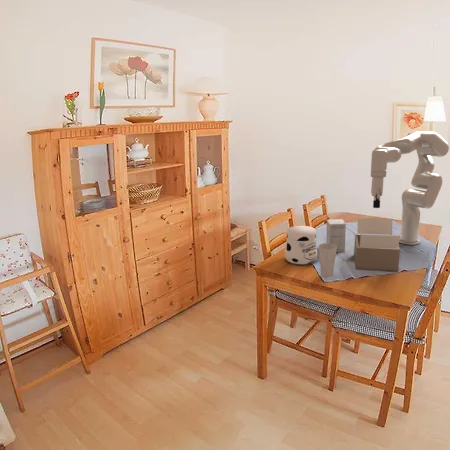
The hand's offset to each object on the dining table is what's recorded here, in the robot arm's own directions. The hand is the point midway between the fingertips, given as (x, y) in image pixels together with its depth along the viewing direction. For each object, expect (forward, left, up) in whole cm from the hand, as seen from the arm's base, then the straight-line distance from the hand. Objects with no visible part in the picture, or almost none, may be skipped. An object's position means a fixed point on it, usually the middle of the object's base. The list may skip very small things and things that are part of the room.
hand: (376, 207), depth 207 cm
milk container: (+15, -38, -27) cm, 49 cm away
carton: (+12, 0, -27) cm, 30 cm away
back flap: (0, 0, -10) cm, 10 cm away
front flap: (+24, 0, -10) cm, 26 cm away
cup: (+31, -24, -27) cm, 48 cm away
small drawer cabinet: (-6, -20, -27) cm, 34 cm away
